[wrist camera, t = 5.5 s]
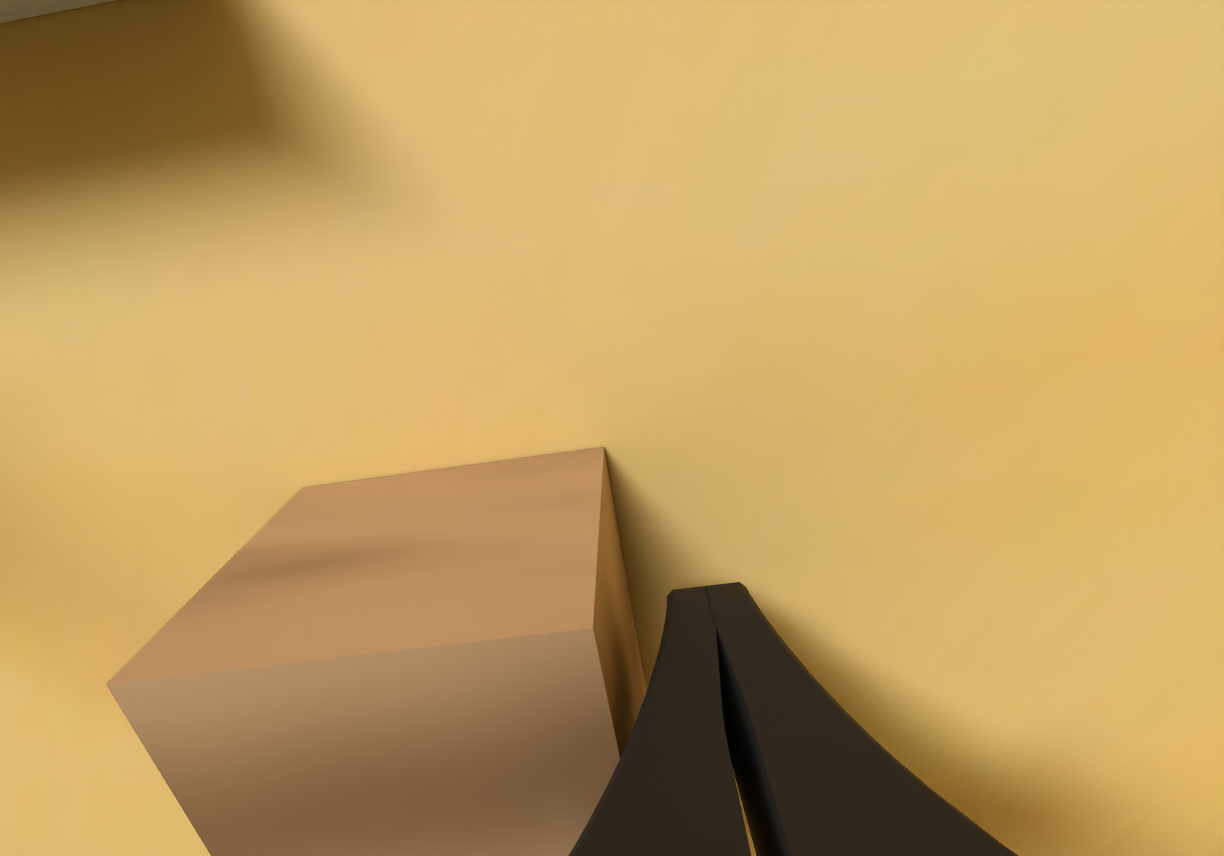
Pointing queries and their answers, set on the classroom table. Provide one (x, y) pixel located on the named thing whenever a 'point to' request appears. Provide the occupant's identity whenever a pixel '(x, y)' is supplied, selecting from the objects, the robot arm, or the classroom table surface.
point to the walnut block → (403, 669)
